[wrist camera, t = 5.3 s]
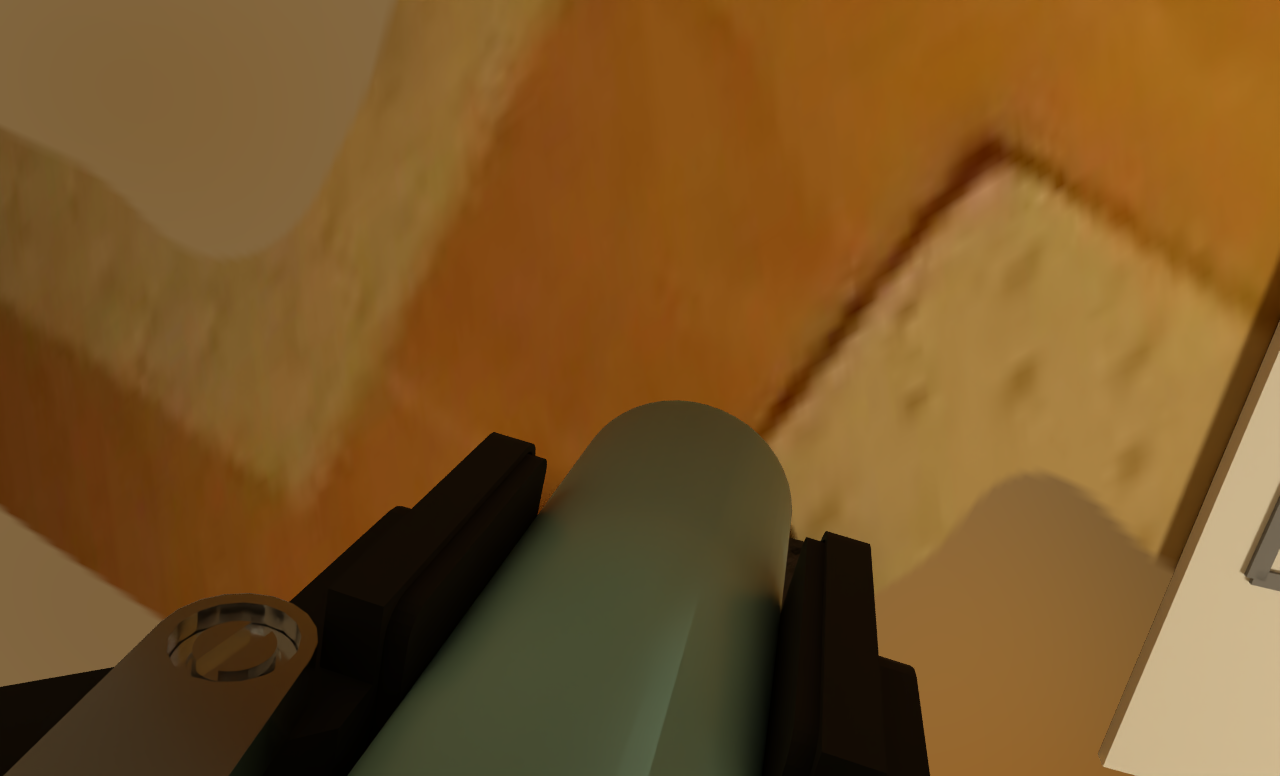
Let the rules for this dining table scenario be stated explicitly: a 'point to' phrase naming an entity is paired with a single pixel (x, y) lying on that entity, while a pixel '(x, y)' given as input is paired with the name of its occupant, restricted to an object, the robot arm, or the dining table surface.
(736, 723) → the cylinder
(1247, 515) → the cream board with squares
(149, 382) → the dining table surface
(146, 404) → the dining table surface
